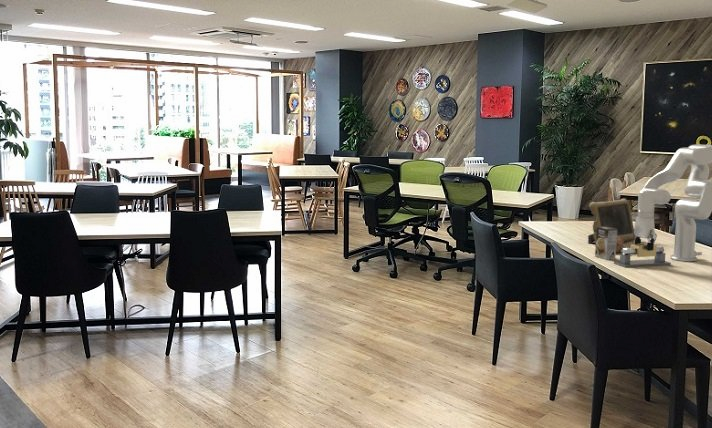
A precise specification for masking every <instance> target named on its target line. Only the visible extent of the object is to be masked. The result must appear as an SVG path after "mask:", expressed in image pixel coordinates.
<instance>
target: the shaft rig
mask: <svg viewBox="0 0 712 428" xmlns="http://www.w3.org/2000/svg"><path fill="white" fill-rule="evenodd" d="M630 254H637V249H636V248H631V247H629V248H627V247H626V248H623V249H622V251H621V253H620V254H619V260H615V261H614V262H613V264H614V265H617V266H620V267H622V268H639V267H641V268H642V267H659V266H671V265H672V262H670V261H667V260H666V252H665V247H663V246H656V256H654V258H652V259H636V260H635V259H633V260H631V255H630Z"/></svg>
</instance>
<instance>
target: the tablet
mask: <svg viewBox="0 0 712 428" xmlns="http://www.w3.org/2000/svg"><path fill="white" fill-rule="evenodd" d="M588 208H589V209H590V211H591V214H592V215H593V224H592V231H593V233H591V234H589V235H588V236H587V239H588V240H587V244H588V245H589V244H593V243H594V244H595V245H596V231H597V227H605V226H606V227H610V228H614V229H618V230H617V235H618V236H620V237H621V238H622V239H623V240H624V243H625V242H631V241H633V242H635V239H634V235H633V234H634V233H633V229H634V228H635V226H634V220H633V217H632V213H631V205H630V203H629V200H627V199H626V198H620V199H617V200H611V201H610V200H608V201H597V202H596V201H592V202H590V203H589V205H588Z"/></svg>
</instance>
